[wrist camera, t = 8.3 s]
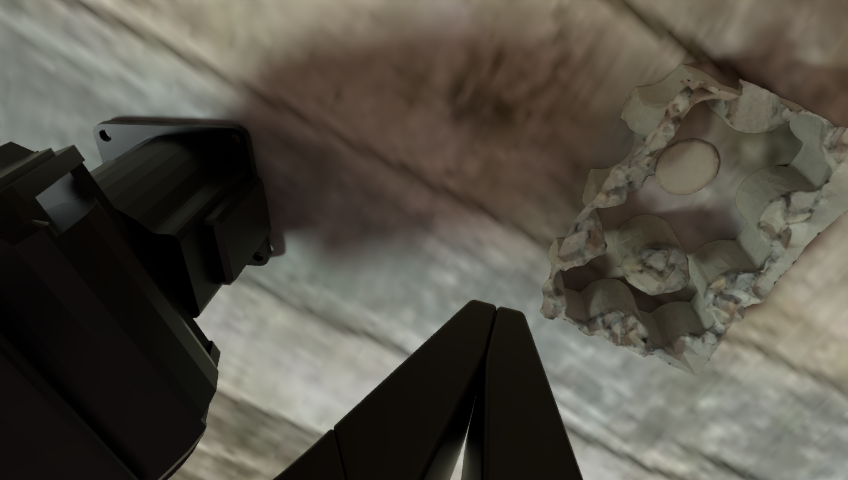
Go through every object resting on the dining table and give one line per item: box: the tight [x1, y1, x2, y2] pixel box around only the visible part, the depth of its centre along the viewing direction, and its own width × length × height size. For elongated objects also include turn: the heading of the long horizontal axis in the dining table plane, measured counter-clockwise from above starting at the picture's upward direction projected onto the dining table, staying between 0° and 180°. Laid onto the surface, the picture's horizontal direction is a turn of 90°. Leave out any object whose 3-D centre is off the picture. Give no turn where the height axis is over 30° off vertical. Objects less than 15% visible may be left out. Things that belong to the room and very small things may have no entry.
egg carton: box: [540, 64, 848, 375], centre depth 20 cm, size 11×8×4 cm
